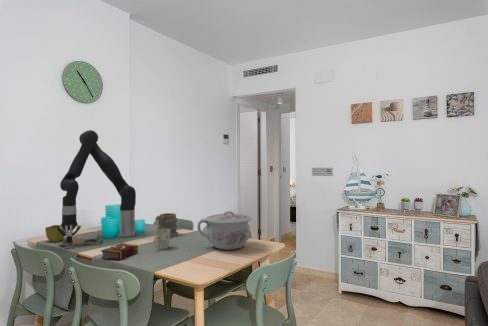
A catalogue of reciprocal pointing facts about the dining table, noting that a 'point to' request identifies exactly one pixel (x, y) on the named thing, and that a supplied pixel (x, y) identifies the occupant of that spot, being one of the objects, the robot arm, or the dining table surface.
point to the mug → (162, 238)
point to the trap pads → (73, 246)
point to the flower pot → (54, 233)
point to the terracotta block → (77, 240)
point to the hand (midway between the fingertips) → (69, 242)
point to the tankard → (168, 223)
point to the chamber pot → (227, 230)
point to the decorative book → (119, 251)
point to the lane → (99, 239)
